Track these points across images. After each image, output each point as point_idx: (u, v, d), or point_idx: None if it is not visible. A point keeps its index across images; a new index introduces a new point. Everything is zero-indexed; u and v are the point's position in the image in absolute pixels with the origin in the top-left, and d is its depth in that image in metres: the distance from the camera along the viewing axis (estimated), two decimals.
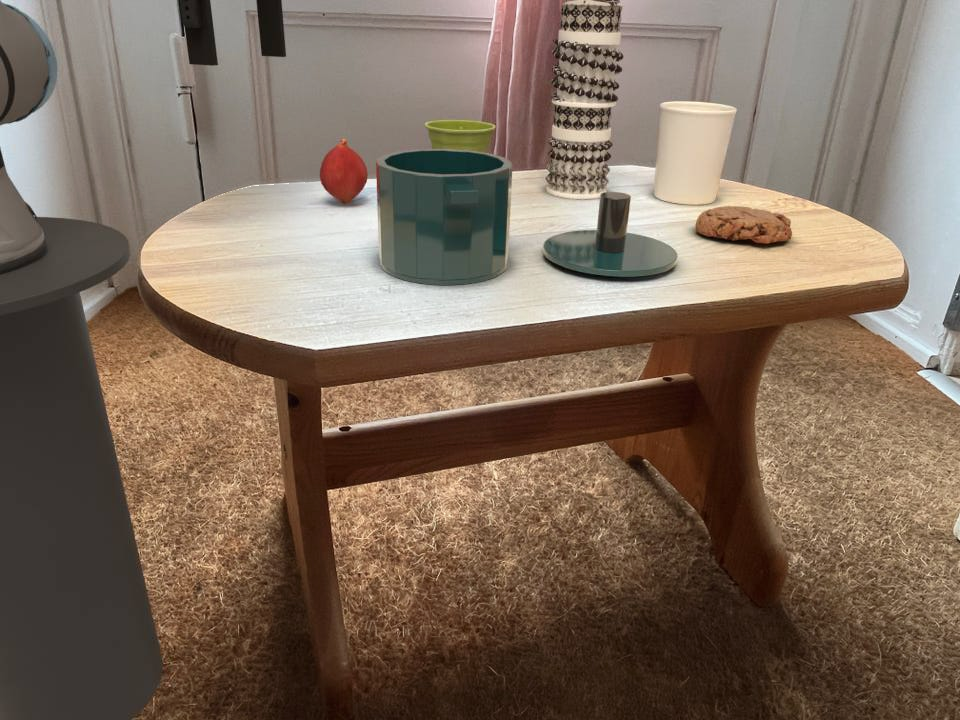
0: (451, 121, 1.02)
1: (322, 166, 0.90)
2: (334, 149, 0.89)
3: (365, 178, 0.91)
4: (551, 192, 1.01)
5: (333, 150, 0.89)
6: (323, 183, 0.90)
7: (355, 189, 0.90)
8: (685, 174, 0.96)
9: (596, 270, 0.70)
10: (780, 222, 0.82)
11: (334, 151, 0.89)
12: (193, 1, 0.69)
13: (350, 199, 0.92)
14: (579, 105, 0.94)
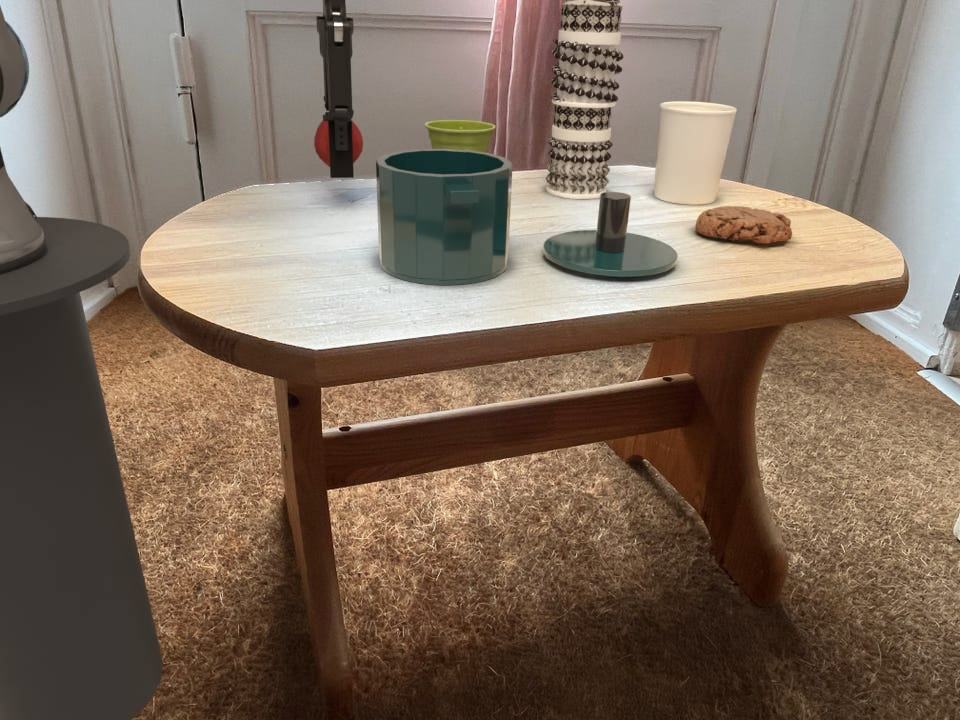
0: (451, 121, 1.02)
1: (317, 133, 0.88)
2: None
3: (360, 147, 0.89)
4: (551, 192, 1.01)
5: None
6: (317, 151, 0.88)
7: None
8: (685, 174, 0.96)
9: (596, 270, 0.70)
10: (780, 222, 0.82)
11: None
12: (347, 130, 0.85)
13: None
14: (579, 105, 0.94)
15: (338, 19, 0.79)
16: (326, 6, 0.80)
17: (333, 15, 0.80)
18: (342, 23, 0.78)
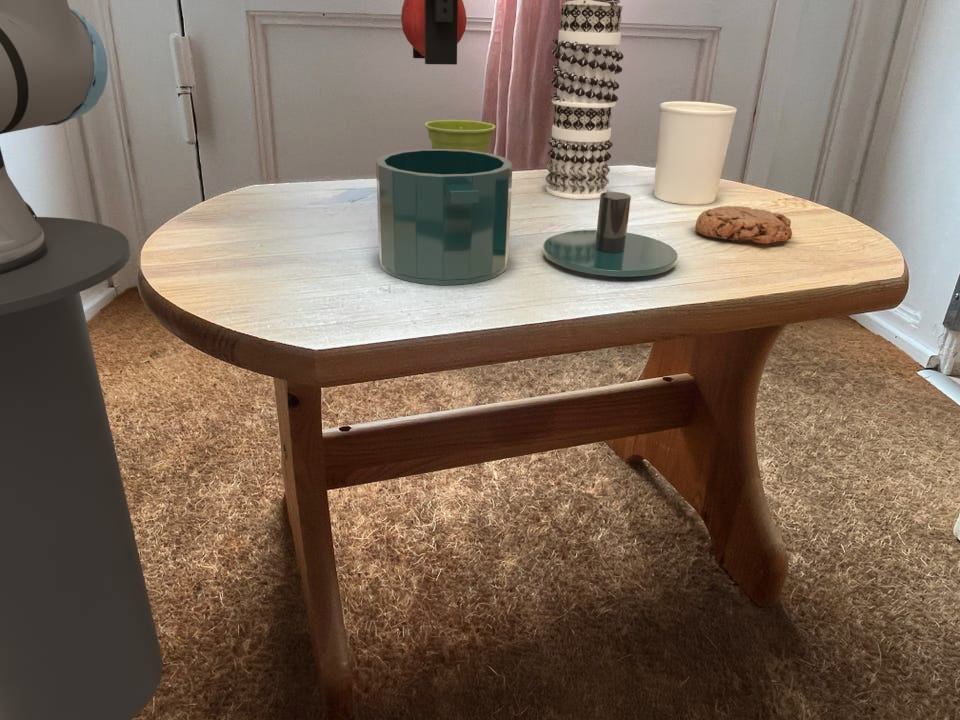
0: (451, 121, 1.02)
1: (406, 4, 0.64)
2: None
3: (465, 23, 0.65)
4: (551, 192, 1.01)
5: None
6: (407, 29, 0.64)
7: None
8: (685, 174, 0.96)
9: (596, 270, 0.70)
10: (780, 222, 0.82)
11: None
12: None
13: None
14: (579, 105, 0.94)
15: None
16: None
17: None
18: None
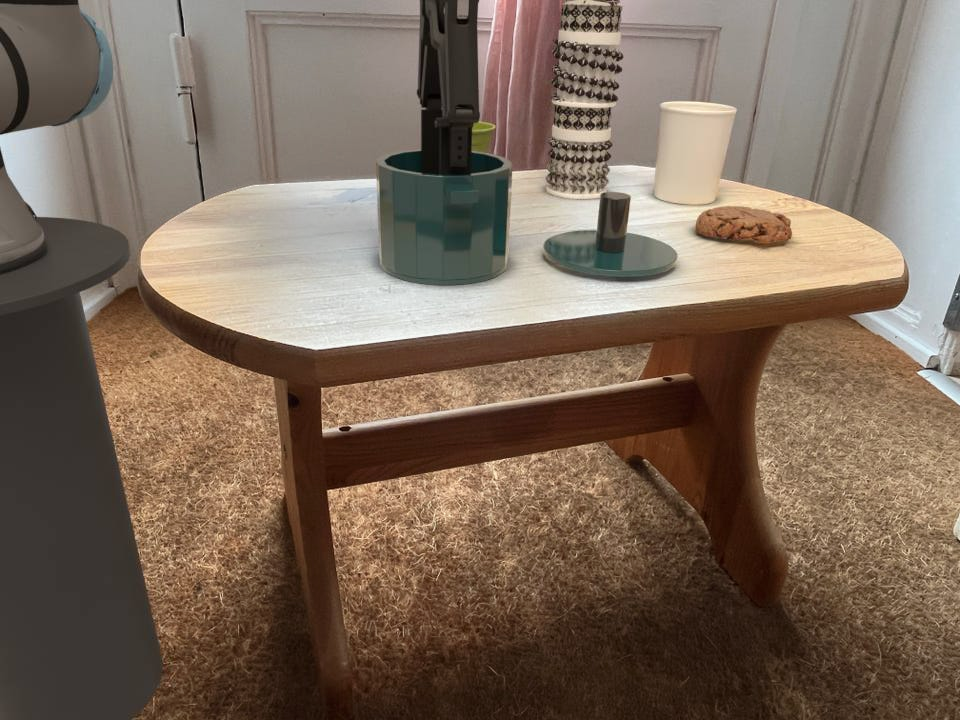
0: None
1: None
2: None
3: None
4: (551, 192, 1.01)
5: None
6: None
7: None
8: (685, 174, 0.96)
9: (596, 270, 0.70)
10: (780, 222, 0.82)
11: None
12: (467, 140, 0.62)
13: None
14: (579, 105, 0.94)
15: None
16: None
17: None
18: None
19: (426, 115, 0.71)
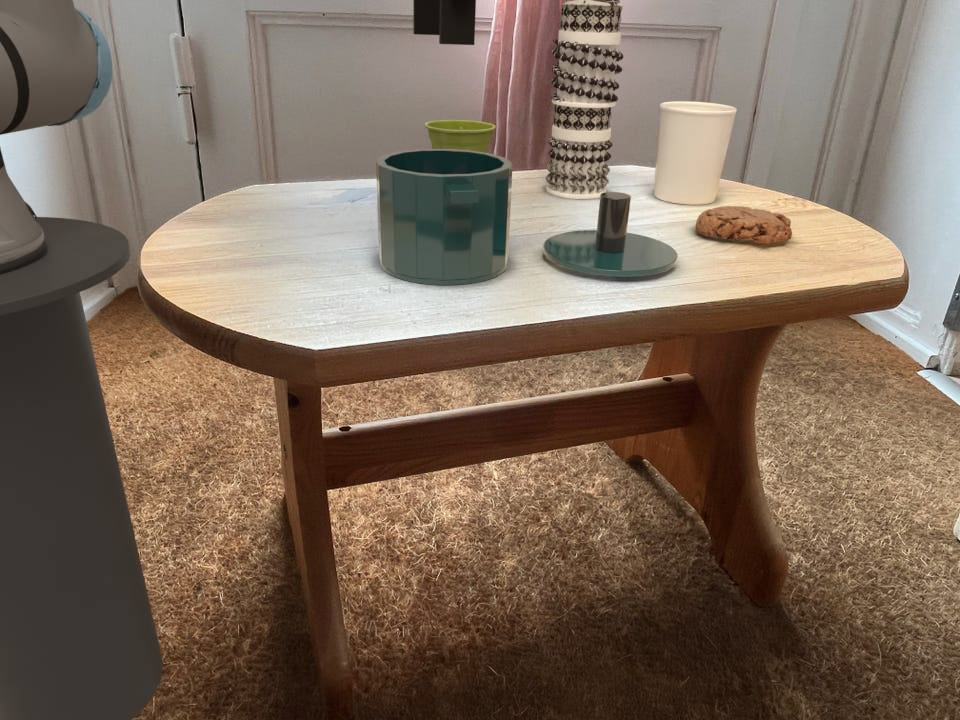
0: (451, 121, 1.02)
1: None
2: None
3: None
4: (551, 192, 1.01)
5: None
6: None
7: None
8: (685, 174, 0.96)
9: (596, 270, 0.70)
10: (780, 222, 0.82)
11: None
12: None
13: None
14: (579, 105, 0.94)
15: None
16: None
17: None
18: None
19: None
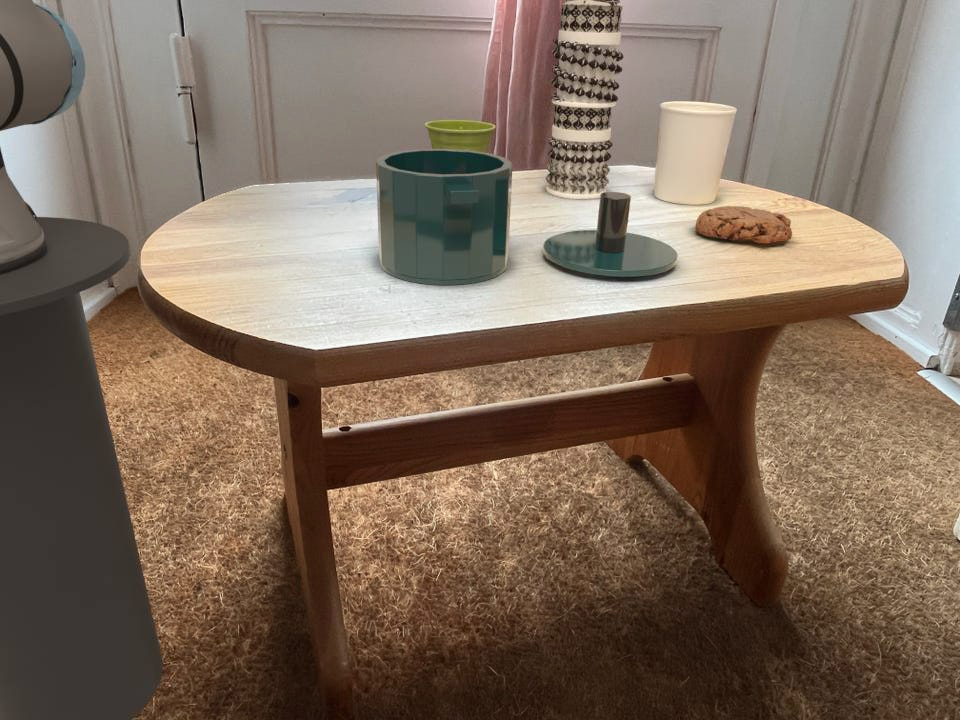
0: (451, 121, 1.02)
1: None
2: None
3: None
4: (551, 192, 1.01)
5: None
6: None
7: None
8: (685, 174, 0.96)
9: (596, 270, 0.70)
10: (780, 222, 0.82)
11: None
12: None
13: None
14: (579, 105, 0.94)
15: None
16: None
17: None
18: None
19: None
